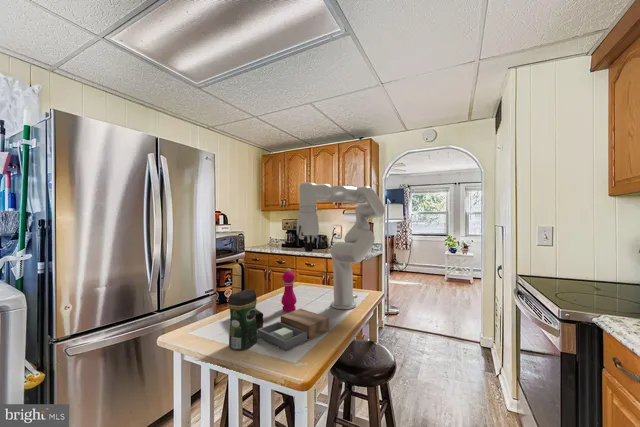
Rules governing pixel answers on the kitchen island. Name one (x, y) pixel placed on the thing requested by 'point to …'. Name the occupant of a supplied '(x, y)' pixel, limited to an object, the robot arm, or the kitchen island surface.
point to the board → (307, 322)
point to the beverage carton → (259, 319)
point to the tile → (284, 333)
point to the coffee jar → (242, 319)
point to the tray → (268, 336)
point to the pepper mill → (288, 292)
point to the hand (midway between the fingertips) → (308, 251)
